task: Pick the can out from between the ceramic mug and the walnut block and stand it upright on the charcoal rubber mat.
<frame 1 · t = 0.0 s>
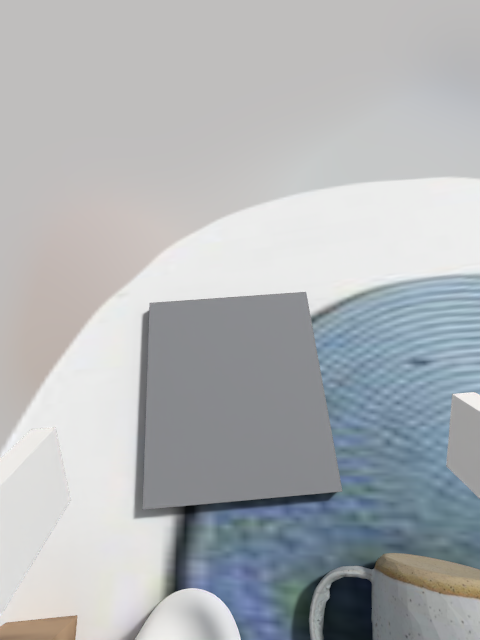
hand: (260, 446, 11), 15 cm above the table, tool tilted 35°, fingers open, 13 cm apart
ceramic mug: (390, 625, 21), on the table
mat: (235, 389, 27), on the table
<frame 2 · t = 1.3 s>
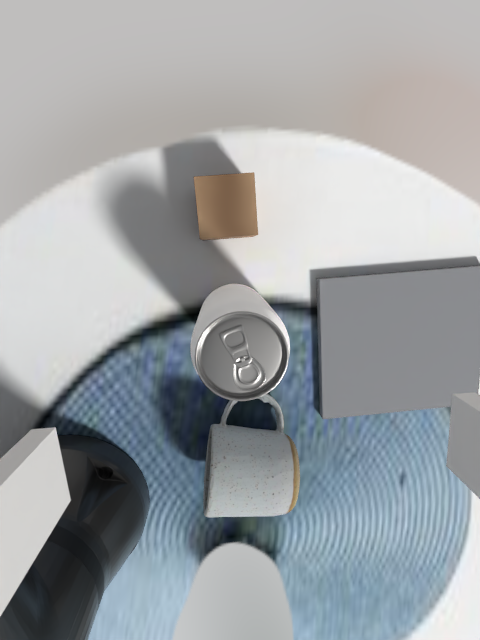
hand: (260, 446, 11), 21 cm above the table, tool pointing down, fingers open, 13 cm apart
can: (234, 316, 31), on the table
walnut block: (225, 212, 29), on the table
ceramic mug: (244, 433, 34), on the table
mat: (397, 342, 33), on the table
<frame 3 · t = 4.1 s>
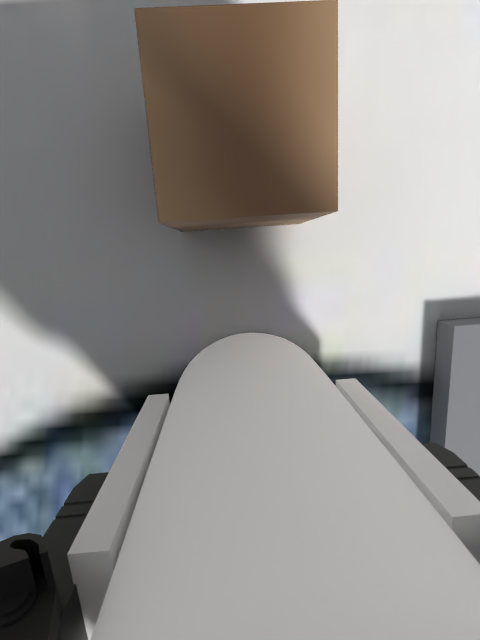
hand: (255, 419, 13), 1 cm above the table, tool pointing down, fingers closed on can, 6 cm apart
can: (250, 400, 14), on the table, touching gripper
walnut block: (236, 164, 12), on the table
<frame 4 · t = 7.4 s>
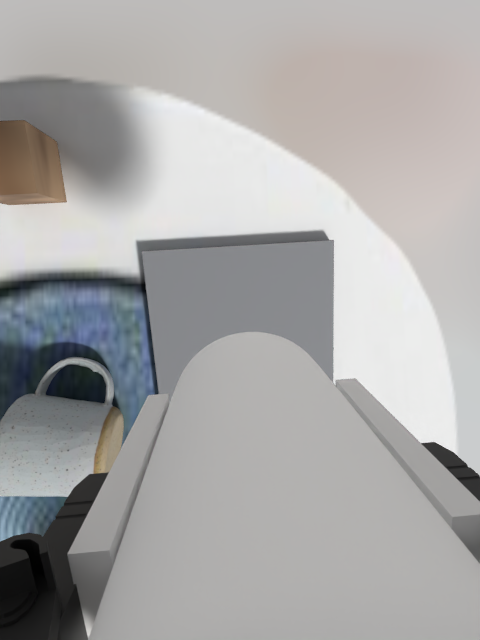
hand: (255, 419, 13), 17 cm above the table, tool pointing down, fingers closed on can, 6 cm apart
can: (250, 399, 14), point 16 cm above the table, touching gripper
walnut block: (33, 174, 26), on the table
ceramic mug: (81, 407, 31), on the table
mat: (242, 324, 30), on the table
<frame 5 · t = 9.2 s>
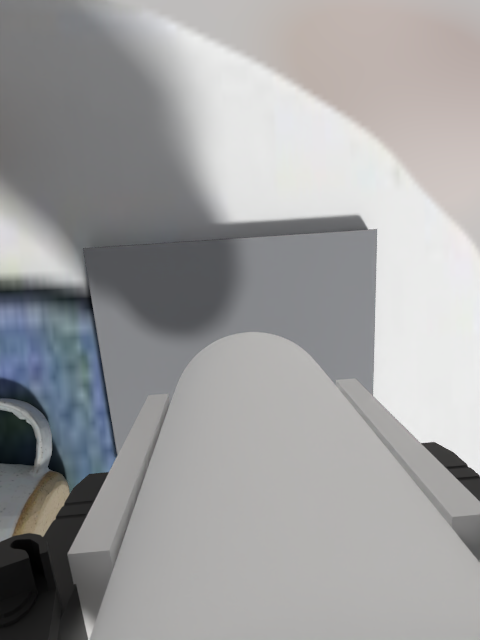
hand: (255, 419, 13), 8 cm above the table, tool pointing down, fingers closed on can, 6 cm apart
can: (250, 399, 14), point 6 cm above the table, touching gripper
ceramic mug: (10, 467, 21), on the table
mat: (240, 355, 20), on the table
when the fingers open (4 cm above the table, at t = 10.7 s): can drops 1 cm, resting on mat.
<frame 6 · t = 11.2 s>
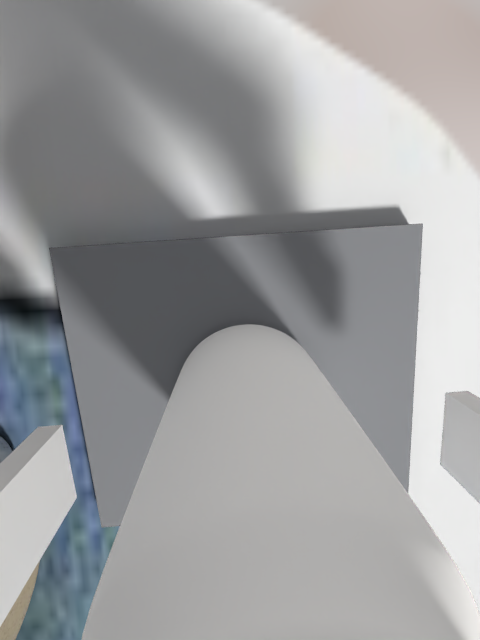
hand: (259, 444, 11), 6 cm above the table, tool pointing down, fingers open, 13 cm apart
can: (247, 386, 16), point 1 cm above the table, touching mat
mat: (247, 379, 16), on the table
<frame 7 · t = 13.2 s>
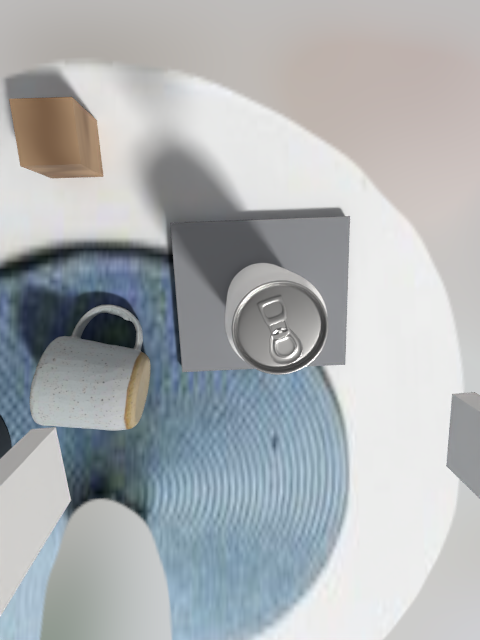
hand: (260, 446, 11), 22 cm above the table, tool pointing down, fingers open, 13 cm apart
can: (261, 297, 31), point 1 cm above the table, touching mat
walnut block: (74, 150, 28), on the table
ceramic mug: (111, 356, 33), on the table
mat: (261, 296, 31), on the table
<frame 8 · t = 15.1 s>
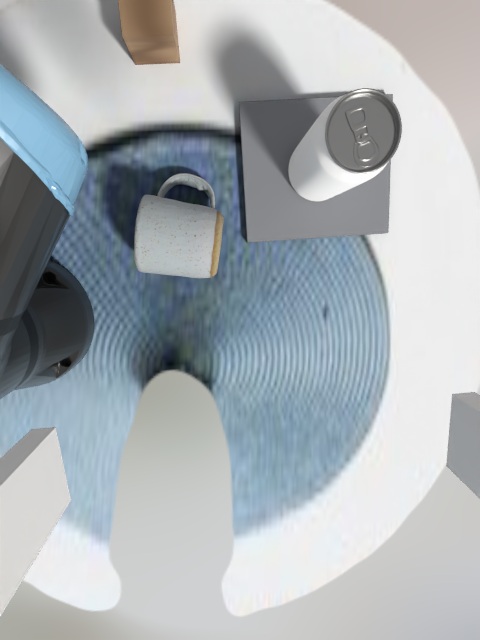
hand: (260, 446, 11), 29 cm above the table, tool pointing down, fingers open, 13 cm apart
can: (316, 171, 35), point 1 cm above the table, touching mat
walnut block: (155, 38, 33), on the table
ceramic mug: (183, 228, 37), on the table
mat: (315, 172, 36), on the table
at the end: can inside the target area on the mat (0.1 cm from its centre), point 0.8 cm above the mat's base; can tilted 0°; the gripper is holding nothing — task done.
